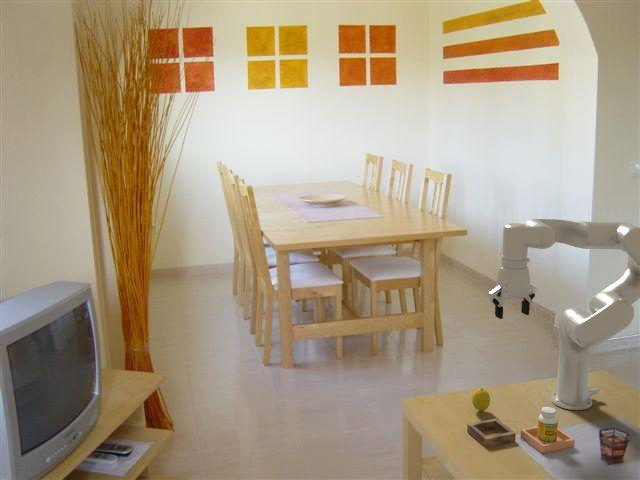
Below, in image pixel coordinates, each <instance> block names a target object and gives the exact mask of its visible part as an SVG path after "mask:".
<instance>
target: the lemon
mask: <svg viewBox="0 0 640 480" xmlns="http://www.w3.org/2000/svg"><path fill="white" fill-rule="evenodd" d="M471 401H472V405H473V407H474V408H475V410H478V411H479V412H480V413H481V412H484V411H486V410H487V409H488V408H489V407H490V405H491V397H490V393H489V391H487V390H486V389H485V388H482V387H480V388H478V389H476V390H475V391H474V392H473V395H472V399H471Z"/></svg>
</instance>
